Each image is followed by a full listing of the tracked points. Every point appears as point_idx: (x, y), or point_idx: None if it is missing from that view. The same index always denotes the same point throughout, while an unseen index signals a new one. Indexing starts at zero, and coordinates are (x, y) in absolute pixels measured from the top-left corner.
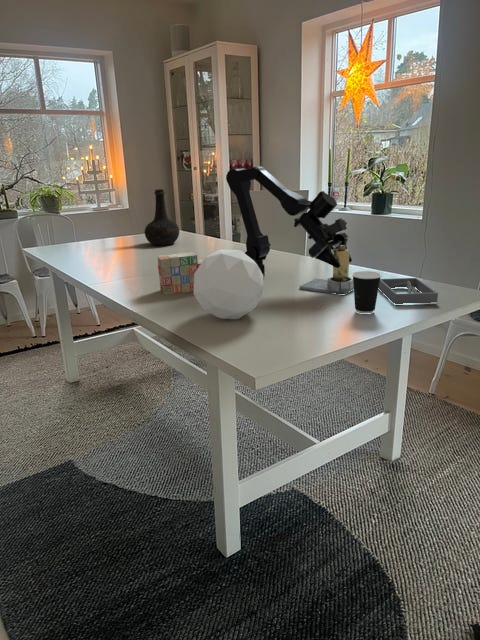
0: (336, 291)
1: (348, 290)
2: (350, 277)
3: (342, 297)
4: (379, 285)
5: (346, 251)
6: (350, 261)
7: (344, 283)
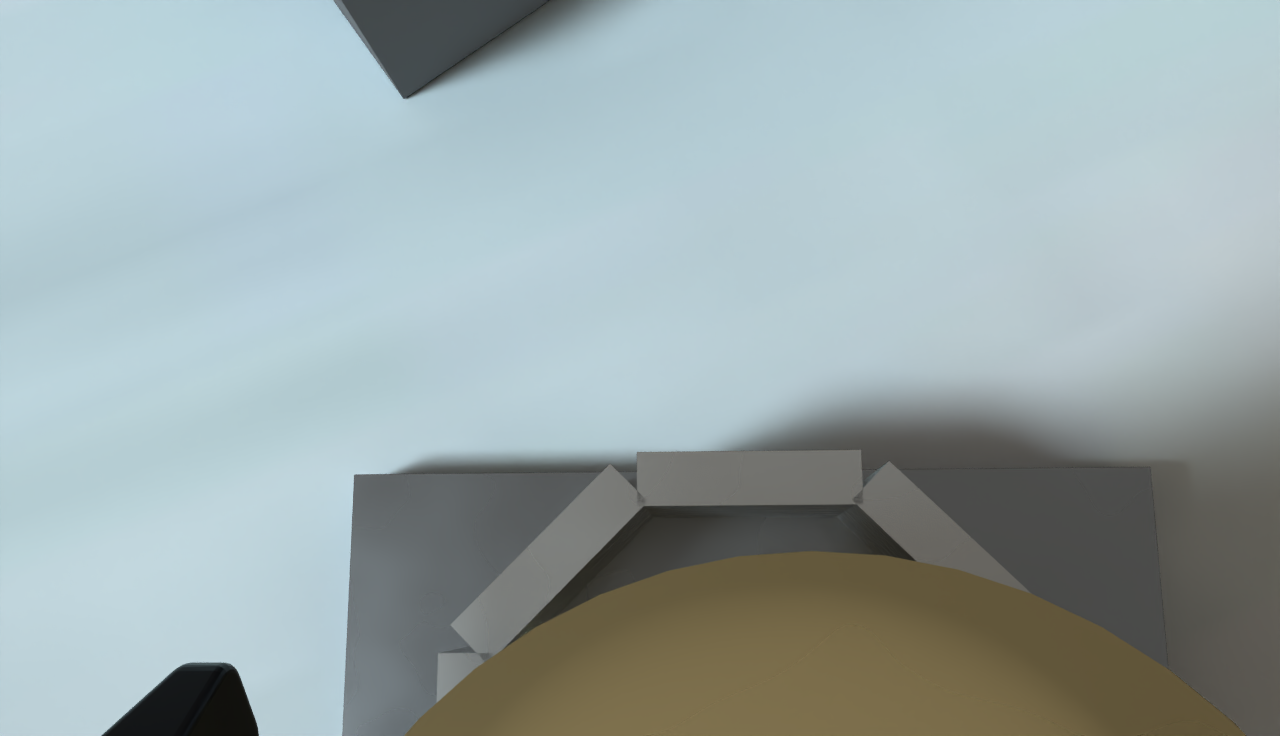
0: (1165, 653)
1: (929, 469)
2: (480, 616)
3: (1263, 450)
4: (440, 10)
5: (1076, 617)
6: (241, 706)
7: (980, 557)
